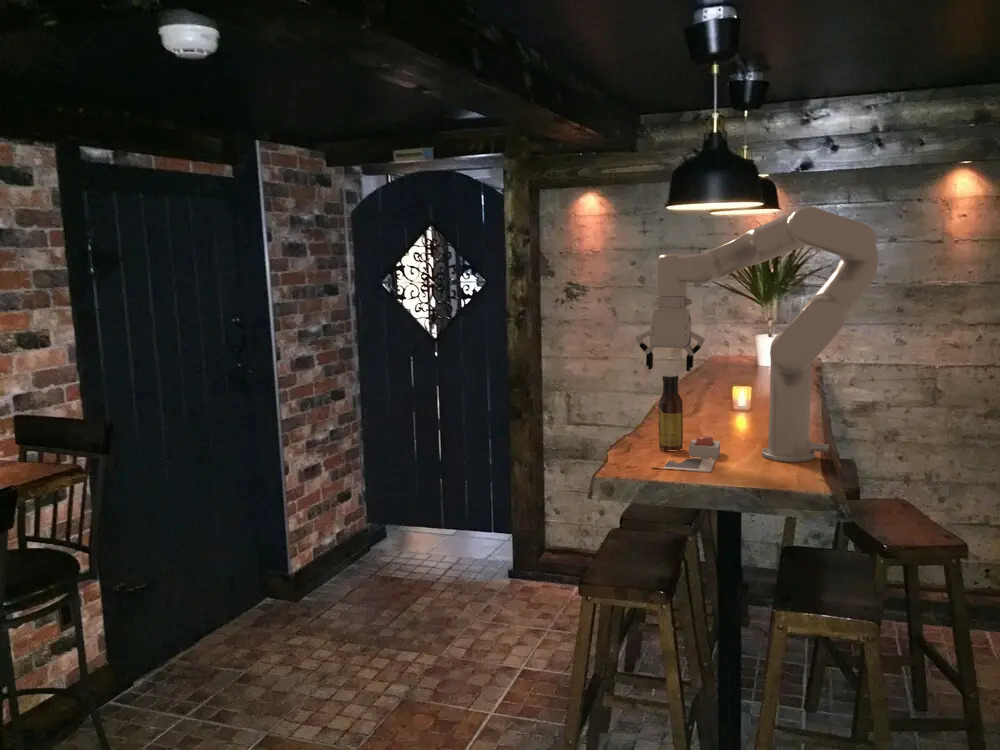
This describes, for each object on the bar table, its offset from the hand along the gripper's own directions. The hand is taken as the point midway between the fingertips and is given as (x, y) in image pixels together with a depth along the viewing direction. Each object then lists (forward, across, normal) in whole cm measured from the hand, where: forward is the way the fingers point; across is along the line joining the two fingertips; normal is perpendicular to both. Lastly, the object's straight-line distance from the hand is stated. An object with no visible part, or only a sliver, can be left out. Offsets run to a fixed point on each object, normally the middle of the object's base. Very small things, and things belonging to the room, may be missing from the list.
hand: (669, 369), depth 213 cm
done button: (+19, -10, +4) cm, 22 cm away
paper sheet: (+21, -6, +14) cm, 26 cm away
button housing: (+21, -10, +4) cm, 23 cm away
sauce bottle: (+21, -1, 0) cm, 21 cm away
